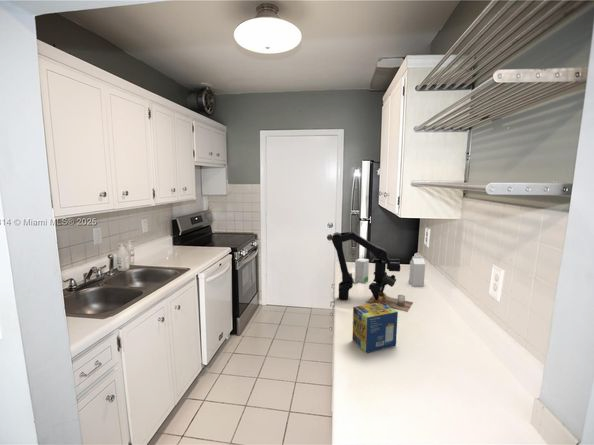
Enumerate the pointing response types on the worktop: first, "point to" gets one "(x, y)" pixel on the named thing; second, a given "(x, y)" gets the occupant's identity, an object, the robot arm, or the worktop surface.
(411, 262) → the milk carton
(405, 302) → the post board
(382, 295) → the wooden ring
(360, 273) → the skincare box
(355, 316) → the protein box
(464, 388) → the worktop surface
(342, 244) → the robot arm
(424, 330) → the worktop surface
